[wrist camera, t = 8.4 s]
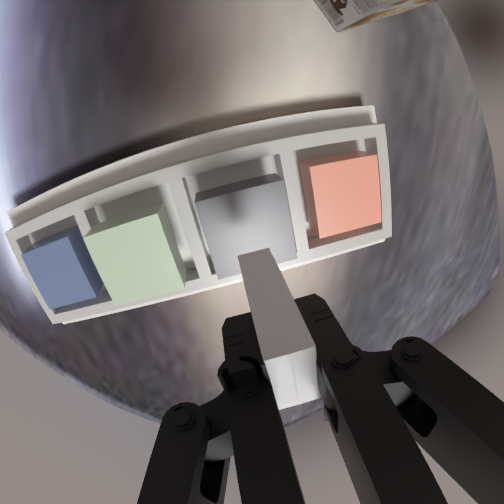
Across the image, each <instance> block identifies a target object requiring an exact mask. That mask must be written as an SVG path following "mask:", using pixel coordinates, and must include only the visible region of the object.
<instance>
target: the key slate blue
mask: <svg viewBox="0 0 504 504" xmlns="http://www.w3.org/2000/svg"><path fill="white" fill-rule="evenodd" d="M21 256H22V259H23V261H24V263H25V265H26V267H27V269H28V271H29V273H30V275H31V277H32V279H33V281H34V282H35V284H36V286H37V288H38V290H39V292H40V293H41V295H42V297H43V299H44V301H45V302H46V304H47V306H48V307H49V309H53V308H57V307H61V306H65V305H69V304H73V303H77V302H81V301H84V300H88V299H92V298H96V297H97V296H98V294H99V292H100V290H101V288H102V286H103V284H104V283H103V281H102V279H101V277H100V275H99V273H98V271H97V268H96V266H95V264H94V262H93V260H92V258H91V255H90V253H89V251H88V249H87V246H86V244H85V242H84V239H83V236H82V234H81V232H80V229H79V227H78V226H75V227H72V228H70V229H67V230H65V231H62V232H59V233H57V234H54V235H52V236H50V237H47V238H45V239H42V240H40V241H37V242H35V243H33V244H32V245H31V246H30V247H29V248H28V249H27V250H26V251H25V252H24V253H23V254H22V255H21Z"/></svg>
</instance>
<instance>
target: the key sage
mask: <svg viewBox="0 0 504 504" xmlns="http://www.w3.org/2000/svg"><path fill="white" fill-rule="evenodd" d="M83 239H84V242H85V244H86V246H87V249H88V251H89V253H90V255H91V258H92V260H93V262H94V264H95V266H96V268H97V271H98V273H99V275H100V277H101V279H102V281H103V283H104V285H105V287H106V289H107V291H108V293H109V295H110V297H111V299H112V300H113V302H114V304H115V306H116V305H120V304H124V303H128V302H132V301H136V300H140V299H144V298H148V297H152V296H156V295H160V294H164V293H168V292H172V291H176V290H180V289H184V288H185V282H186V268H185V265H184V263H183V260H182V257H181V254H180V251H179V249H178V246H177V243H176V240H175V237H174V234H173V231H172V228H171V225H170V222H169V219H168V216H167V213H166V210H165V207H164V204H163V203H159V204H156V205H153V206H150V207H146V208H143V209H140V210H137V211H134V212H131V213H128V214H125V215H122V216H119V217H116V218H113V219H110V220H107V221H104V222H101V223H98V224H96V225H94V226H93V227H92V228H91V229H90V231H89V232H88V233H87V234H86V235H85V236H84V237H83Z"/></svg>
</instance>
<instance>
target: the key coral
mask: <svg viewBox="0 0 504 504" xmlns="http://www.w3.org/2000/svg"><path fill="white" fill-rule="evenodd" d="M299 166H300V172H301V178H302V184H303V190H304V196H305V202H306V209H307V215H308V222H309V227H310V229H311V230H312V231H313V232H314V233H315V234H316V235H317V236H318V237H319V239H321V238H325V237H328V236H332V235H336V234H339V233H343V232H347V231H351V230H354V229H358V228H362V227H365V226H369V225H373V224H377V223H380V222H382V221H381V198H380V182H379V170H378V159H377V155H376V154H373V153H369V152H365V151H362V150H361V151H355V152H349V153H343V154H337V155H332V156H326V157H321V158H316V159H310V160H305V161H300V162H299Z"/></svg>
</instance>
